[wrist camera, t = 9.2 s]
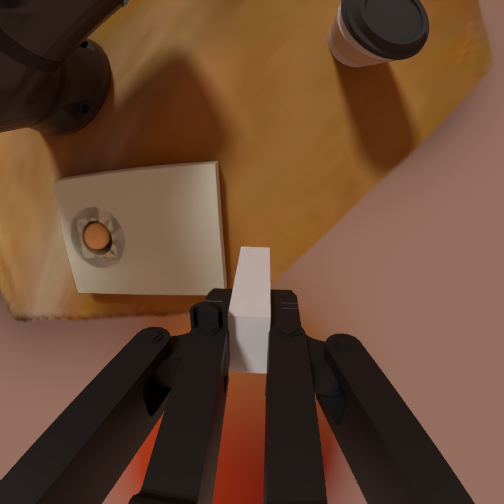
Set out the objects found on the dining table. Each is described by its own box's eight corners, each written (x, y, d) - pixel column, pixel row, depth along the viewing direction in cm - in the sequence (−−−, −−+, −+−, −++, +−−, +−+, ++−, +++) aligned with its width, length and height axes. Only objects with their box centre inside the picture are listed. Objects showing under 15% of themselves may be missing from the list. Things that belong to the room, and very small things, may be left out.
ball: (85, 222, 44) (79, 226, 40) (110, 218, 45) (106, 222, 41) (89, 247, 45) (84, 254, 41) (114, 244, 46) (110, 250, 42)
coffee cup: (307, 52, 34) (330, 18, 21) (336, 2, 31) (369, -45, 17) (368, 87, 36) (419, 75, 22) (394, 37, 32) (449, 9, 19)
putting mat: (64, 177, 42) (53, 181, 39) (218, 160, 40) (215, 163, 38) (86, 283, 49) (78, 292, 46) (227, 284, 47) (224, 295, 45)
